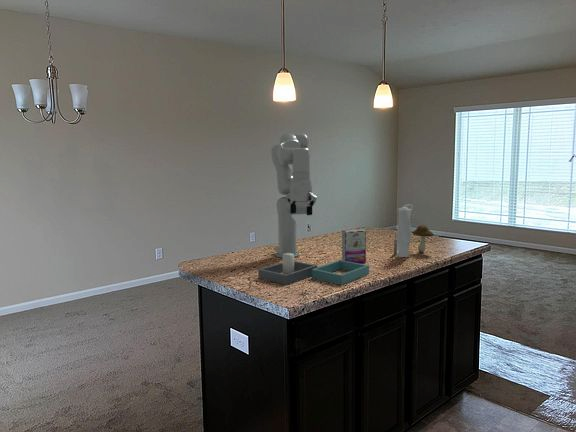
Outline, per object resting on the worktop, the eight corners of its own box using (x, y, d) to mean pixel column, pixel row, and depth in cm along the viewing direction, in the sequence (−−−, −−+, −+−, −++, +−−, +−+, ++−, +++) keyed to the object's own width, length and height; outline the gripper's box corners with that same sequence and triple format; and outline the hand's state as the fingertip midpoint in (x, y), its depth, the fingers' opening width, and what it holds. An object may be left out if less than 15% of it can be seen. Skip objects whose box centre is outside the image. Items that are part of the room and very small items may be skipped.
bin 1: (258, 278, 202) (258, 269, 202) (290, 268, 219) (290, 260, 218) (286, 285, 192) (286, 275, 191) (317, 274, 209) (317, 265, 208)
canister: (280, 276, 205) (280, 254, 204) (287, 273, 209) (287, 252, 208) (289, 278, 202) (289, 256, 200) (296, 275, 206) (296, 254, 204)
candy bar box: (361, 260, 234) (362, 228, 231) (365, 262, 229) (366, 230, 227) (341, 262, 231) (341, 229, 228) (345, 264, 226) (345, 231, 224)
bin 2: (311, 278, 202) (311, 269, 201) (339, 268, 219) (339, 260, 218) (342, 284, 192) (342, 275, 191) (368, 274, 208) (369, 265, 208)
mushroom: (428, 255, 244) (429, 227, 242) (408, 252, 252) (409, 225, 250) (435, 252, 251) (437, 225, 249) (416, 249, 259) (417, 223, 256)
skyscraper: (408, 255, 247) (410, 203, 243) (413, 258, 239) (415, 205, 235) (393, 255, 247) (394, 203, 243) (397, 258, 239) (398, 205, 235)
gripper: (281, 175, 207) (281, 213, 209) (310, 176, 195) (310, 216, 198) (292, 175, 213) (292, 211, 215) (321, 176, 201) (321, 215, 203)
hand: (301, 214), depth 206 cm, fingers open, 9 cm apart
